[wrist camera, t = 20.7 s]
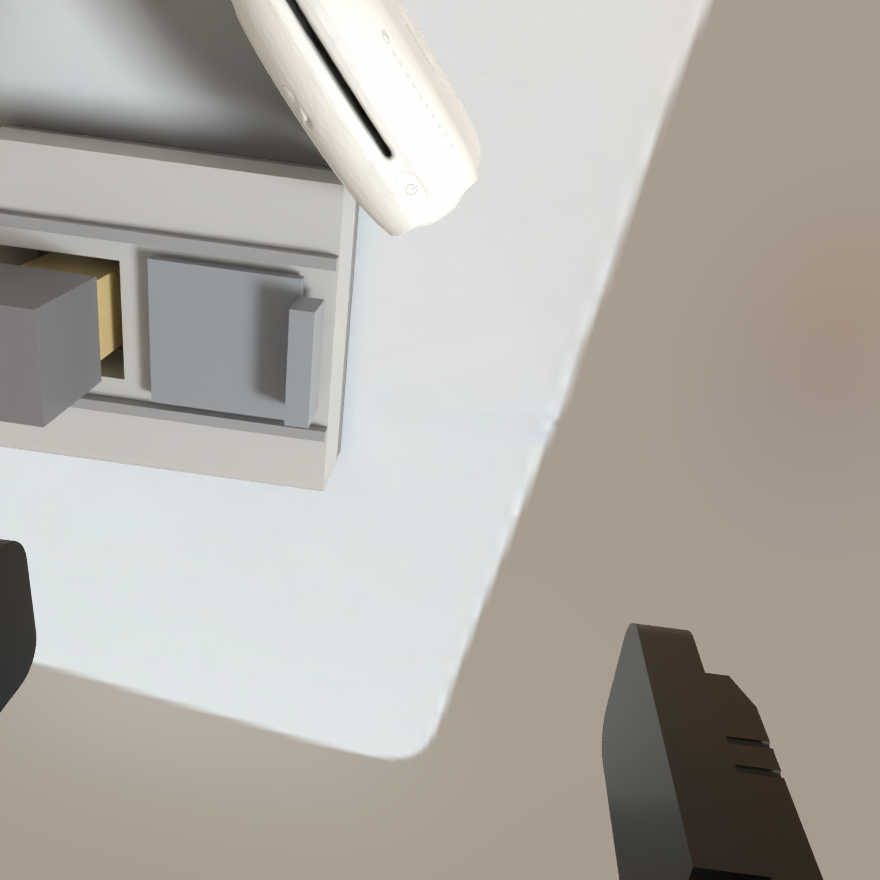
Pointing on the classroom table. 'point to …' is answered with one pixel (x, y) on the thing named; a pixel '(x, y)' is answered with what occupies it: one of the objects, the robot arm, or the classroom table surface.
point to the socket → (189, 238)
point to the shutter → (234, 340)
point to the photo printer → (370, 103)
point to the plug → (55, 332)
